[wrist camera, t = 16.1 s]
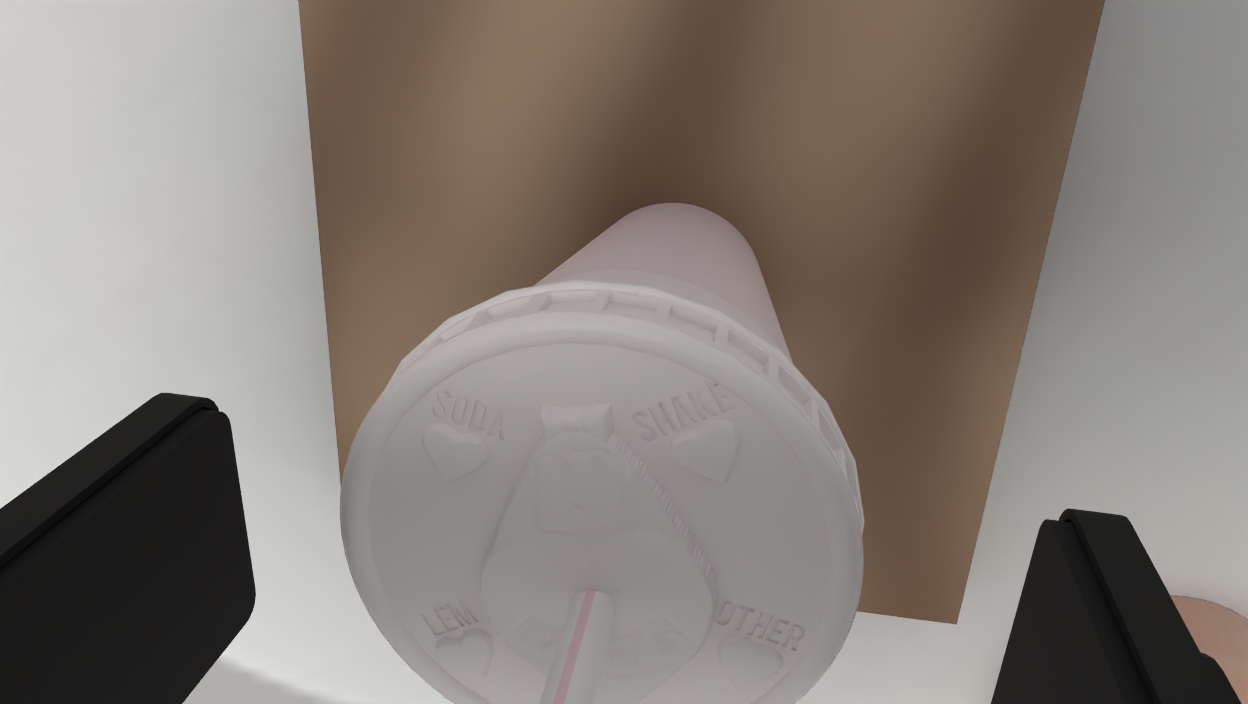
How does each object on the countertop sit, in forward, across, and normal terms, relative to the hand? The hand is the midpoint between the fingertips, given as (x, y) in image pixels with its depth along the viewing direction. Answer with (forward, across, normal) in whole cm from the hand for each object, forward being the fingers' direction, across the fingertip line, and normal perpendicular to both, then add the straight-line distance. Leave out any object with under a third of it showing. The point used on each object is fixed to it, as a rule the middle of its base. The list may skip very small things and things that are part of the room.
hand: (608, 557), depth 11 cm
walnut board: (+11, +1, +1) cm, 11 cm away
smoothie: (+10, 0, 0) cm, 10 cm away
